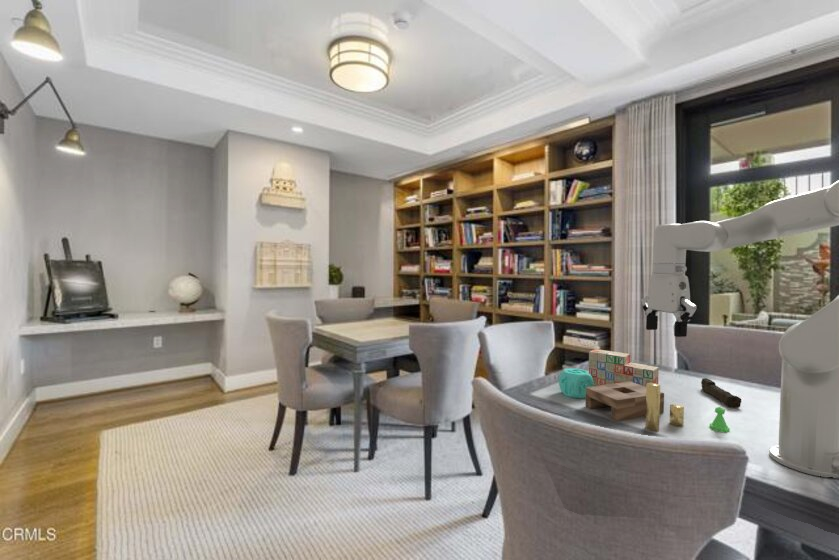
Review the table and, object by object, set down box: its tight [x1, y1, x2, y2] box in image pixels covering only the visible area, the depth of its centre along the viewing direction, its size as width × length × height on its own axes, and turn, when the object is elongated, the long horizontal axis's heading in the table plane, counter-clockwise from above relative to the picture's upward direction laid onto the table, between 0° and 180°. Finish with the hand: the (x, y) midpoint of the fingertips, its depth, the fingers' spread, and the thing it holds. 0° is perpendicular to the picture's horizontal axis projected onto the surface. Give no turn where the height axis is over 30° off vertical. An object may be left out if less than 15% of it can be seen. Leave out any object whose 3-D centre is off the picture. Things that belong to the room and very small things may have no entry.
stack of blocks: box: [588, 348, 660, 387], centre depth 137 cm, size 21×6×12 cm, turn 43°
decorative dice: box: [558, 367, 595, 399], centre depth 131 cm, size 8×8×8 cm
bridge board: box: [585, 382, 665, 422], centre depth 117 cm, size 12×18×6 cm, turn 109°
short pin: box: [669, 403, 685, 427], centre depth 107 cm, size 3×3×5 cm
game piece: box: [709, 406, 731, 433], centre depth 104 cm, size 4×4×6 cm
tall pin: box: [645, 383, 661, 432], centre depth 104 cm, size 3×3×12 cm
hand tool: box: [700, 377, 742, 409], centre depth 127 cm, size 19×4×5 cm, turn 166°
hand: (665, 332), depth 105 cm, fingers open, 9 cm apart
